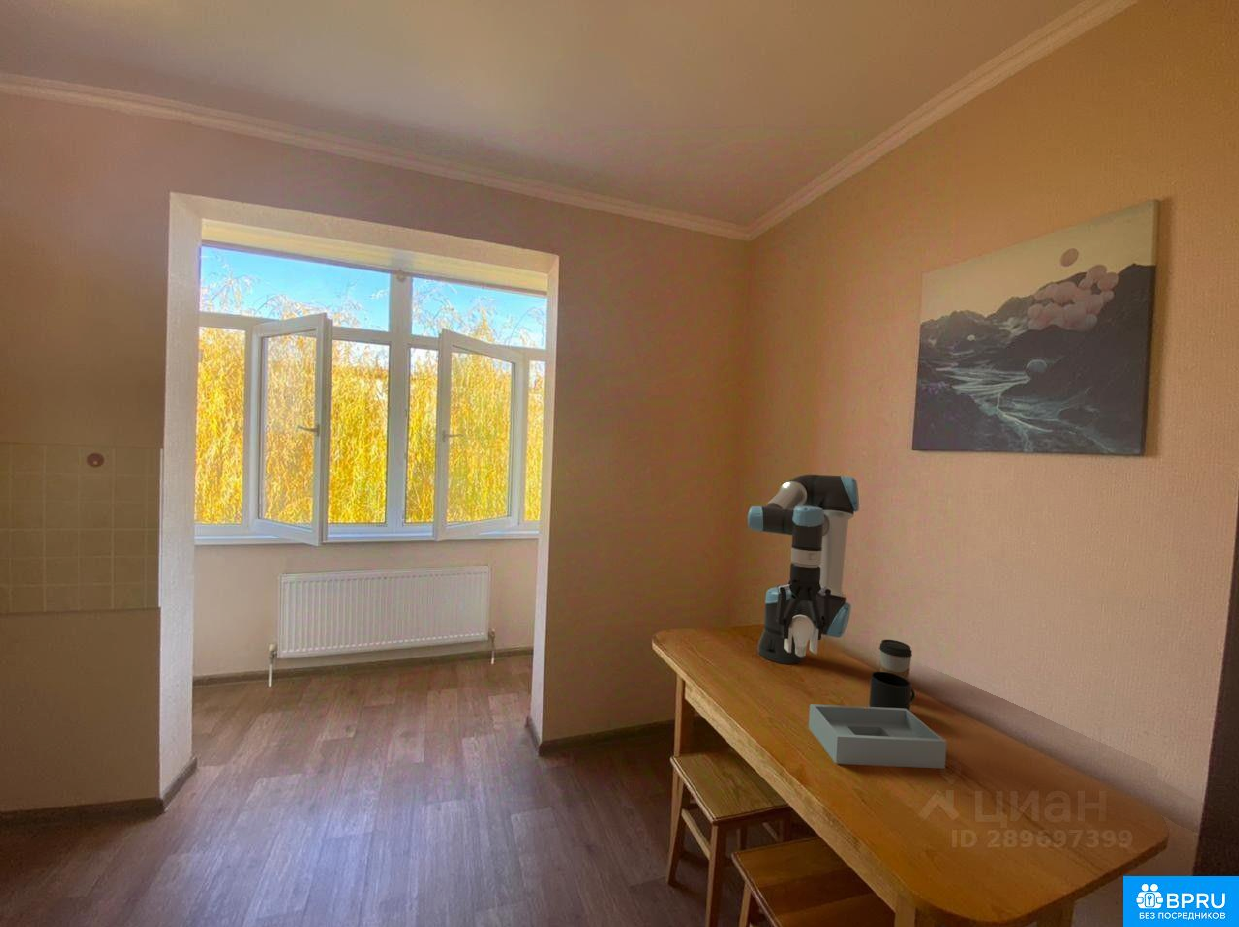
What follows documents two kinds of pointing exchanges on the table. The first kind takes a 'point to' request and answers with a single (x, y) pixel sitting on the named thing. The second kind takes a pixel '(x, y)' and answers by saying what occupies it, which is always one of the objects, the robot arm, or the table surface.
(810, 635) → the lightbulb
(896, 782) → the table surface
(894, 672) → the coffee cup
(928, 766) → the socket box
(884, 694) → the mug
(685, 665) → the table surface
